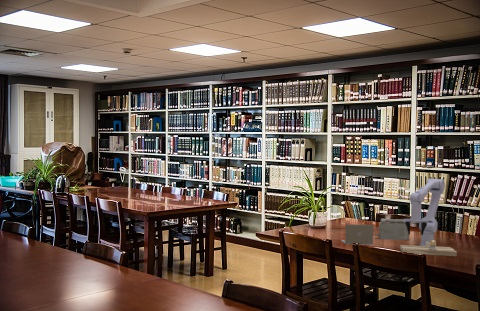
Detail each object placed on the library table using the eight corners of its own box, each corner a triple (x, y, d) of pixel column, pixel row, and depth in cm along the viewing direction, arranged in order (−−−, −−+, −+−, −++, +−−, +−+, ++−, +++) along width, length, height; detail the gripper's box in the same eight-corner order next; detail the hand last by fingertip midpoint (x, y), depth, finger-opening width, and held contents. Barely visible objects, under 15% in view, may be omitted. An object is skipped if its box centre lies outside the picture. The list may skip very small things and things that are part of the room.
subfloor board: (399, 249, 316) (400, 244, 315) (450, 251, 311) (450, 247, 311) (403, 253, 303) (403, 249, 303) (456, 256, 299) (456, 251, 298)
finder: (425, 245, 313) (425, 240, 313) (433, 246, 312) (434, 241, 312) (427, 247, 308) (427, 242, 308) (435, 248, 307) (436, 242, 307)
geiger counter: (407, 218, 351) (371, 217, 350) (410, 219, 344) (374, 219, 343) (406, 238, 351) (370, 238, 350) (410, 240, 345) (373, 239, 344)
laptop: (367, 241, 340) (367, 221, 340) (372, 245, 328) (373, 225, 328) (340, 241, 340) (341, 221, 339) (345, 244, 327) (345, 224, 327)
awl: (429, 253, 305) (429, 239, 305) (435, 253, 305) (435, 240, 304) (429, 254, 302) (430, 240, 302) (436, 254, 301) (436, 241, 301)
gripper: (405, 212, 311) (404, 235, 311) (429, 213, 309) (429, 236, 309) (403, 211, 318) (402, 233, 318) (427, 212, 316) (426, 234, 316)
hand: (415, 234), depth 314 cm, fingers open, 7 cm apart
